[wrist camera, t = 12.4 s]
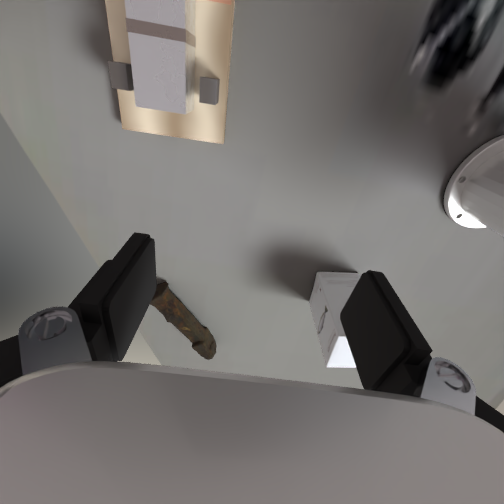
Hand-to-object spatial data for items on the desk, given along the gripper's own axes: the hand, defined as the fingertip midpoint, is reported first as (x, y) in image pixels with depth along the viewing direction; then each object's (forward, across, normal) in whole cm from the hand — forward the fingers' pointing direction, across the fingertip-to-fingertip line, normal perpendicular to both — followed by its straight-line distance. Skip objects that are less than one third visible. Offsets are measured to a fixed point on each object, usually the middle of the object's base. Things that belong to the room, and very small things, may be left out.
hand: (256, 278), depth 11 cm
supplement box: (+24, -17, +20) cm, 35 cm away
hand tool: (+24, +6, +31) cm, 39 cm away
